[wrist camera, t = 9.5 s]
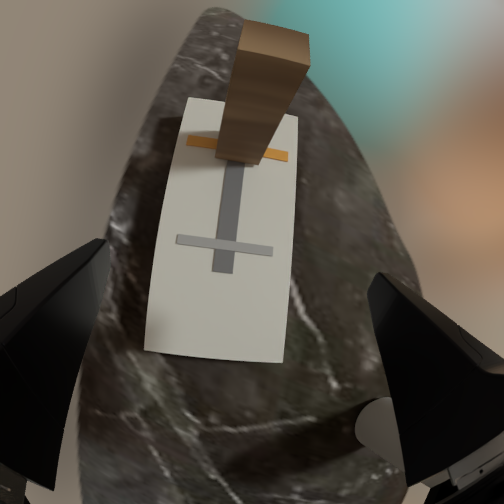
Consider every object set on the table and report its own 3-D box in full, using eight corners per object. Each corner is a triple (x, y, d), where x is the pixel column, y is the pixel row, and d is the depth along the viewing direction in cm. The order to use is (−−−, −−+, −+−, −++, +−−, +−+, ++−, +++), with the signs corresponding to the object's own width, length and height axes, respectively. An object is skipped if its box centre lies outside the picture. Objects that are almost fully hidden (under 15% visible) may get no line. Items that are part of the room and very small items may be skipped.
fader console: (272, 356, 20) (283, 363, 17) (149, 344, 18) (143, 350, 16) (288, 133, 24) (298, 116, 21) (188, 115, 22) (188, 96, 20)
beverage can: (383, 444, 20) (476, 492, 9) (343, 442, 20) (437, 507, 8) (402, 398, 22) (506, 428, 10) (363, 392, 21) (474, 432, 9)
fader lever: (258, 165, 19) (310, 66, 10) (214, 158, 19) (237, 49, 9) (261, 135, 20) (308, 34, 10) (219, 128, 19) (244, 19, 10)
